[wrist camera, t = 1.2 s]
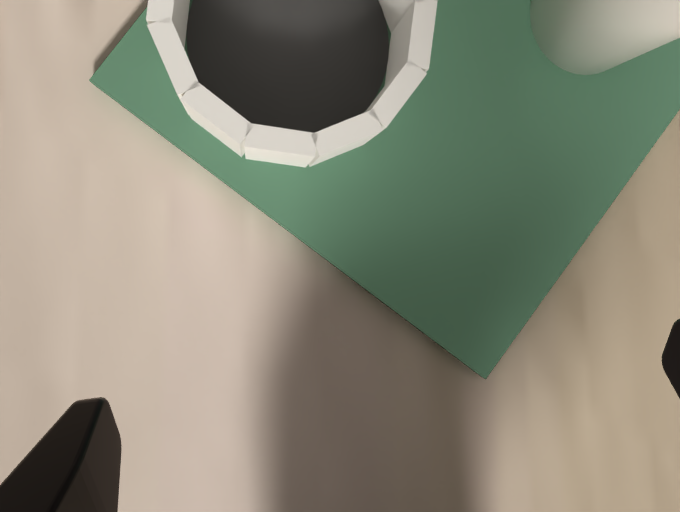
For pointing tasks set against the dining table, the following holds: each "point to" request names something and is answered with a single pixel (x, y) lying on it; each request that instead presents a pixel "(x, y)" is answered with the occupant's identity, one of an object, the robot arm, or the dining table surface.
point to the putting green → (402, 141)
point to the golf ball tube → (601, 31)
